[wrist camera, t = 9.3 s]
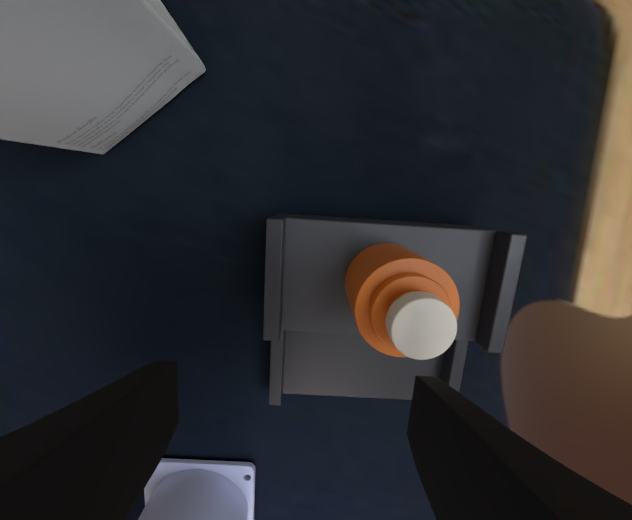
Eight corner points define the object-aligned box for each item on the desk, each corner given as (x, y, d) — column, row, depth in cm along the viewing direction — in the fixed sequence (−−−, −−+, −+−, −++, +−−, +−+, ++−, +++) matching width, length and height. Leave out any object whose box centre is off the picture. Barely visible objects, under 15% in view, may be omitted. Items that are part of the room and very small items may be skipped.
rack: (443, 396, 21) (481, 454, 16) (272, 387, 20) (259, 444, 16) (473, 224, 18) (528, 234, 13) (278, 212, 18) (265, 218, 13)
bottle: (418, 321, 16) (475, 388, 10) (341, 317, 15) (356, 382, 10) (429, 245, 15) (498, 273, 9) (348, 240, 15) (368, 265, 9)
